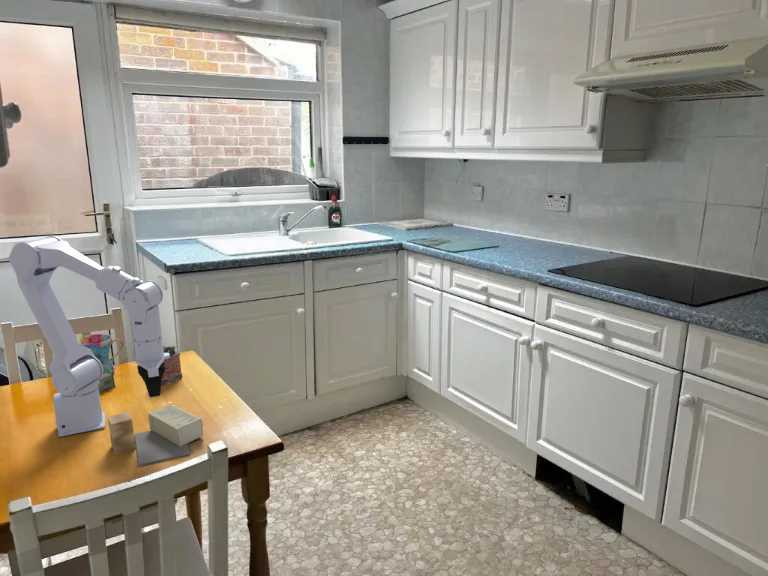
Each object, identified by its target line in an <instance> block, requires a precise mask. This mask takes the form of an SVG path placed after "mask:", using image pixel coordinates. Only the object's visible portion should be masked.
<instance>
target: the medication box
mask: <svg viewBox="0 0 768 576" xmlns="http://www.w3.org/2000/svg"><path fill="white" fill-rule="evenodd" d="M99 382H100V383H99V384H98V388H99V394H101V393H104V392H107V391H109V390H112V389H114V388H116V383H115V378H114V373H105V374H103V375H102V377H101V378H100V379H99Z"/></svg>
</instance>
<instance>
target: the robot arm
mask: <svg viewBox="0 0 768 576" xmlns="http://www.w3.org/2000/svg"><path fill="white" fill-rule="evenodd" d="M7 259H8V261H9V262H10V264H11V267H12V269H13V271H14V273H15V275H16V280H17V284H18V287H19V289H20V290H21V292H22V294H23V296H24V299H25V300H26V302H27V304H28V306H29V309H30V310H31V312H32V314H33V316H34V318H35V320H36V322H37V324H38V326H39V328H40V330H41V332H42V334H43V336H44V338H45V340H46V342H47V344H48V346H49V347H50V349H51V352H52V354H53V358H52V360H51V363H50V365H49V372H50V374H51V377H52V379H51V380H52V385H53V387H54V389H55V390H56V391H57V392H56V393H53V401H52V402H53V410H54V416H55V424H56V425H55V426H56V428H57V436H58V437H66V436H71V435H75V434H79V433H80V434H81V433H85V432H91V431H95V430H101V429H105V428H106V412H104V411H103V409H102V404H101V397H100V396H101V395H100V393H99V388H98V384H99V383H100V382H99V379H100V378H101V377H102V375H103V365H102V363H101V362H100V361H99V359H97V358H96V357H95V356H94V354H93V353H92V351H91V349H89V348H86V347H83V346H81V345H80V344H79V342H78V338H77V336H76V335H75V333H74V330H73V329H72V326H71V324H70V322H69V320H68V318H67V316H66V314H65V312H64V311H63V308H62V306H61V304H60V302H59V300H58V298H57V296H56V294H55V292H54V290H53V288H52V285H51V284H50V280H51V278H52V276H53V274H54V273H55V271H57V269H58V268H61V267H62V268H63V269H67V270H69V271H71V272H73V273H76V274H78V275H80V276H82V277H85V278H86V279H89V280H92V281H93V282H94V284H95V286H96V289H97V290H99V291H100V292H101V293H105V294H106V295H108V296H110V297H111V298H114V299H116V300H117V301H119V302H122V305H123V307H124V309H125V310H126V311H127V312H128V317H129V319H130V320H131V327H132V328H131V329H132V335H133V337H132V338H133V345H134V351H135V359H134V360H135V364H136V365H137V372H138V374H139V376H140V377H141V379H142V380H143V382H144V384H145V387H146V391H147V393H148V396H149V398H155V397H159V396H161V391H162V386H161V382H162V377H163V374H164V372H165V369H166V367H165V363H164V360H165V359H168V358H170V354H169V353H164V350H163V346H164V343H163V334H162V324H161V317H160V316H161V315H160V308H159V305H160V304H162V301H163V299H164V297H163V296H164V294H163V290H162V289H161V287H160V285H158V284H157V283H156V282H155V281H153V280H145V281H143V280H141V279H140V278H139V277H134V276H132V275H130V274H128V273H127V272H124V271H122V267H120V266H117V265H114V266H113V265H109V266H106V267H103V266H102V265H100V264H98V263H97V262H96V261H94V260H92V259H90V258H89V257H87V256H85V255H84V254H82V253H81V252H79V251H77V250H76V249H74V248H73V247H72V246H71V244H70V243H69V242H68V241H67V240H63V239H62V238H61V237H58V236H56V235H49V236H46V237H42V238H37V239H34V240H28V241H21V242H18V243H15V244H14V245H13V247H12V249H11V252H10V254H9V256H8V258H7Z"/></svg>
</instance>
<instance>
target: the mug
mask: <svg viewBox="0 0 768 576" xmlns="http://www.w3.org/2000/svg"><path fill="white" fill-rule="evenodd" d="M77 340H78V342H79V344H80V345H81V346H83V347H86V348H89V349H91V351H92V353H93V354H94V356H95V357H96V358H97V359H99V361H100V362H101V363H102V365H103V374H105V373H112V374H114V372H115V370H116V367H115V366H114V365H113V363H112V362H115V360H114V358H115V357H117V356H118V355H119V354H120V353H121V351H122V350H123V348H124V342H123V340H122V339H119V338H116V339H113V336H112V335H111V334H108V333H95V334H89V335H85V336H82V337H80V338H77ZM117 341H118V342H120V343H121V345H120V348H119V350H118V351H117V352H116V353H115V354H114V355H113V356H112V357H111V356H110V355H111V354H110V352H111V351H110V350H111V348H112V344H113V343H114V342H117Z"/></svg>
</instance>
